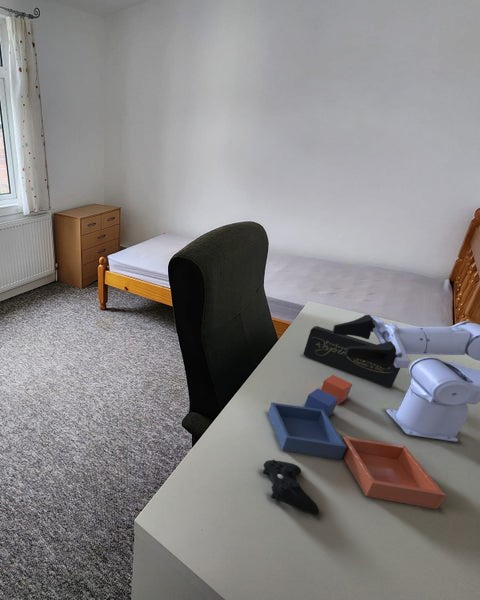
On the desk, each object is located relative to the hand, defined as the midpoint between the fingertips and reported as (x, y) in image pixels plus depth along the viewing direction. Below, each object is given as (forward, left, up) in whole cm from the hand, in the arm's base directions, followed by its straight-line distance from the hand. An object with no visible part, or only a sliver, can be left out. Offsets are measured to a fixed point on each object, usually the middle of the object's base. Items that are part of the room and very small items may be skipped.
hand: (339, 340), depth 75 cm
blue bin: (+7, +10, -19) cm, 23 cm away
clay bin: (-5, +18, -19) cm, 27 cm away
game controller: (+14, +25, -19) cm, 35 cm away
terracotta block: (-6, -6, -19) cm, 21 cm away
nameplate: (-14, -19, -19) cm, 31 cm away
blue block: (0, +1, -19) cm, 19 cm away
